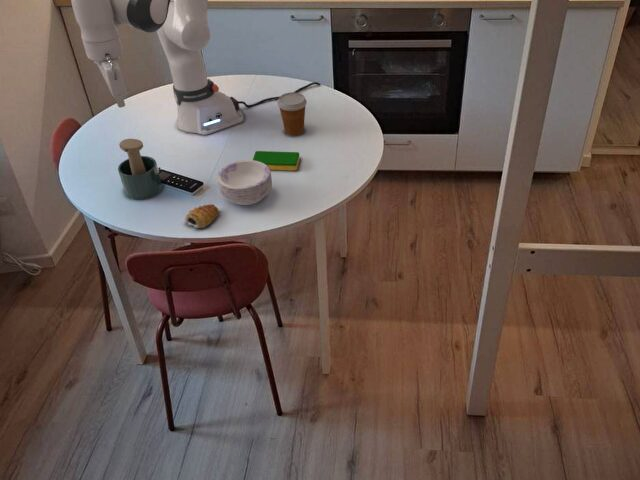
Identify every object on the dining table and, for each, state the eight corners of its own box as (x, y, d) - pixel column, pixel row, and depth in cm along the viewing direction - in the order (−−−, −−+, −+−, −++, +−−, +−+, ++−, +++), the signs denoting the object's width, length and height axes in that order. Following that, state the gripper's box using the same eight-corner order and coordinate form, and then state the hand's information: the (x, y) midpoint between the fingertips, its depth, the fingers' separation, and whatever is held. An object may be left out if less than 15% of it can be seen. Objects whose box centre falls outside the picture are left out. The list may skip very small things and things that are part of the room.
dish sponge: (296, 171, 188) (296, 164, 187) (252, 169, 189) (251, 162, 188) (299, 158, 194) (299, 151, 192) (256, 157, 194) (255, 150, 193)
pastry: (207, 206, 175) (205, 195, 172) (225, 214, 172) (223, 203, 170) (183, 223, 169) (181, 212, 167) (201, 232, 166) (198, 221, 164)
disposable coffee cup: (275, 135, 204) (271, 102, 196) (288, 122, 211) (285, 89, 203) (301, 140, 202) (298, 107, 194) (313, 127, 208) (311, 94, 200)
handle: (148, 193, 179) (136, 149, 169) (129, 190, 181) (116, 146, 171) (157, 184, 183) (145, 140, 173) (138, 181, 184) (125, 137, 174)
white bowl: (228, 180, 185) (224, 157, 180) (277, 182, 184) (275, 159, 178) (214, 210, 174) (210, 187, 168) (267, 213, 172) (264, 189, 167)
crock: (157, 175, 187) (151, 152, 182) (166, 193, 180) (160, 170, 175) (121, 184, 184) (114, 161, 178) (129, 203, 177) (122, 180, 171)
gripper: (125, 60, 148) (138, 112, 157) (108, 31, 161) (122, 81, 170) (98, 65, 146) (113, 118, 155) (83, 36, 159) (98, 85, 168)
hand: (117, 98), depth 163 cm, fingers open, 8 cm apart
